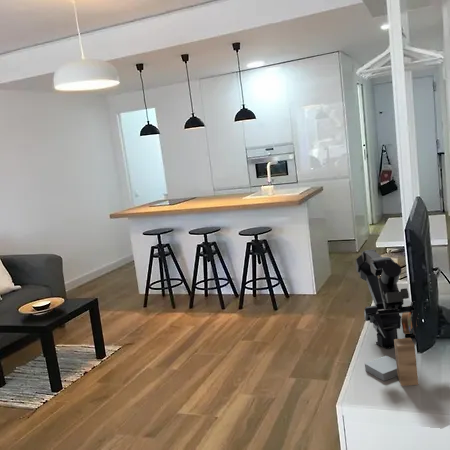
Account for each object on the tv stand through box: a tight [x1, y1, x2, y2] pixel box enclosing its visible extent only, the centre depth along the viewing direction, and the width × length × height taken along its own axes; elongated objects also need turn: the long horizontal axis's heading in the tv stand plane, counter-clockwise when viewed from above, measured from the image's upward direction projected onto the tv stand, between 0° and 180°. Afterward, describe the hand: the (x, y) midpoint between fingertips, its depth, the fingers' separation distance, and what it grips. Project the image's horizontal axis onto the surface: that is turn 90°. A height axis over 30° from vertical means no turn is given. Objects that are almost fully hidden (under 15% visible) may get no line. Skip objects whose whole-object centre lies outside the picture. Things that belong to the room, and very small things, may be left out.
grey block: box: [364, 355, 398, 382], centre depth 163 cm, size 9×9×2 cm
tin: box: [401, 312, 412, 336], centre depth 190 cm, size 15×3×8 cm, turn 147°
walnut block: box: [394, 337, 419, 387], centre depth 154 cm, size 5×5×13 cm
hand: (400, 335), depth 159 cm, fingers open, 9 cm apart
